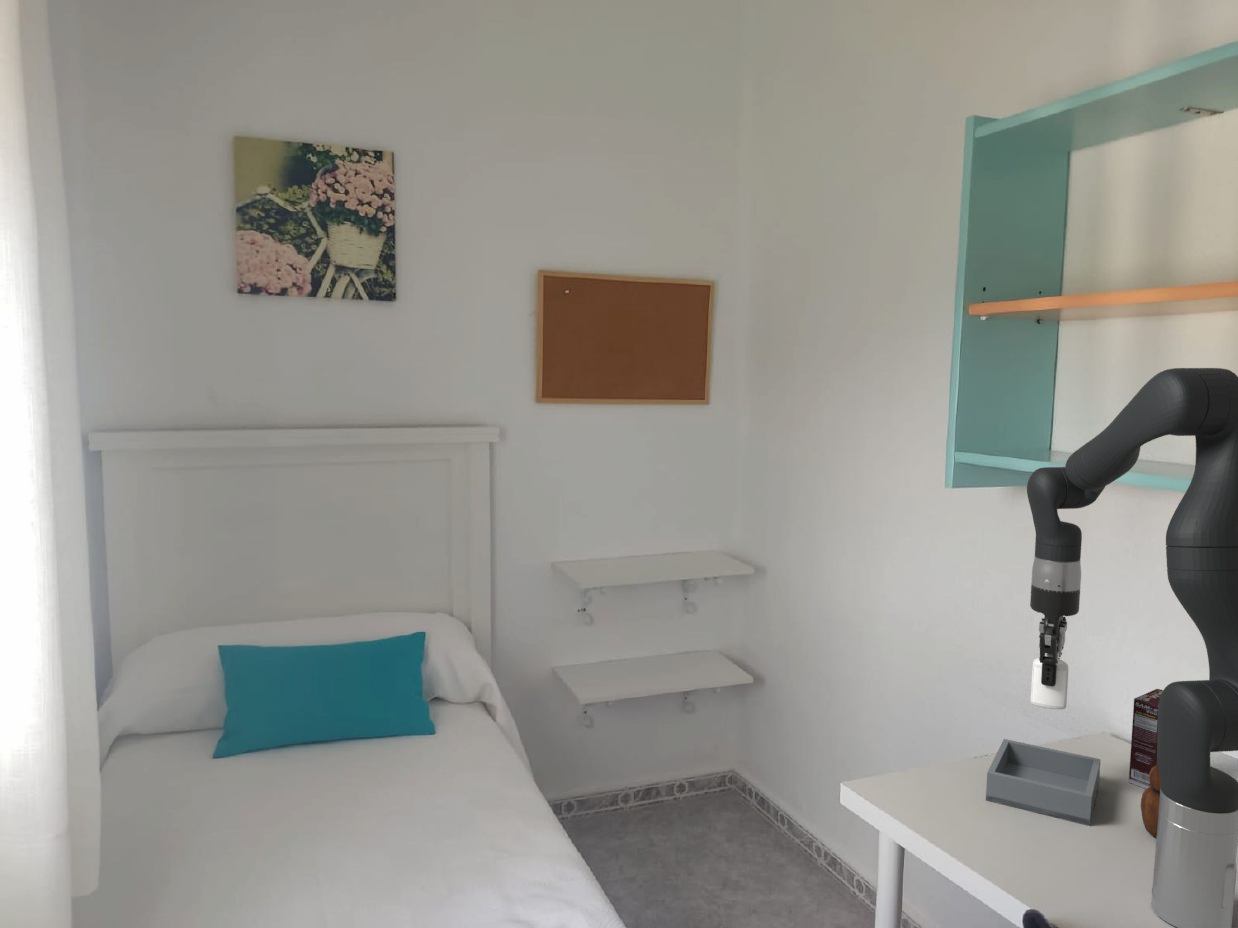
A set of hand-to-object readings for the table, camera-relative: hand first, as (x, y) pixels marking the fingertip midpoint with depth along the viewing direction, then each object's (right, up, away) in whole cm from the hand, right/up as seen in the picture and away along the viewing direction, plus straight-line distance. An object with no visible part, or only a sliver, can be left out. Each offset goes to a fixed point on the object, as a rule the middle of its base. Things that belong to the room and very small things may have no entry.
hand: (1049, 680), depth 157 cm
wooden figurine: (+13, -22, -11) cm, 28 cm away
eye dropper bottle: (0, -5, +1) cm, 5 cm away
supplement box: (+22, -20, +7) cm, 30 cm away
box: (0, -20, +3) cm, 20 cm away
